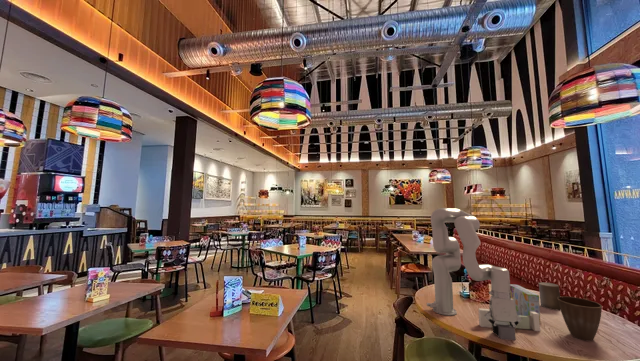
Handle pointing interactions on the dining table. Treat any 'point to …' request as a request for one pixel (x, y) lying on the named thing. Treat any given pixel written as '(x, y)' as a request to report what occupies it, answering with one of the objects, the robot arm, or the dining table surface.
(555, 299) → the pillar candle
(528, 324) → the door
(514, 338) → the block
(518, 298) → the snack box
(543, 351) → the dining table surface
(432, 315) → the dining table surface
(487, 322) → the pair of cream posts
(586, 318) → the plant pot
